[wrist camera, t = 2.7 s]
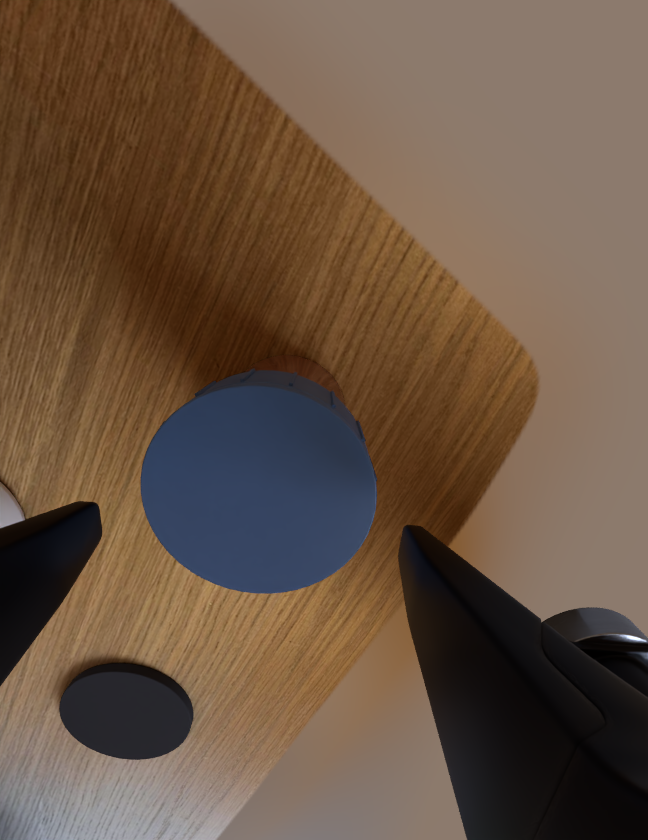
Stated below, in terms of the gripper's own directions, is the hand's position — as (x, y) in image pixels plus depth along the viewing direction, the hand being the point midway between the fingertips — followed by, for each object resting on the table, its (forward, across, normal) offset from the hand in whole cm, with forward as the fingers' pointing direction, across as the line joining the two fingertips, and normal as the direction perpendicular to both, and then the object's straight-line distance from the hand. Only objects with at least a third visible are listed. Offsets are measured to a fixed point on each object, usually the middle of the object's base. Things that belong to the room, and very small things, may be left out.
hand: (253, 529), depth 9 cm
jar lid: (+2, 0, 0) cm, 2 cm away
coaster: (+10, +10, +23) cm, 27 cm away
